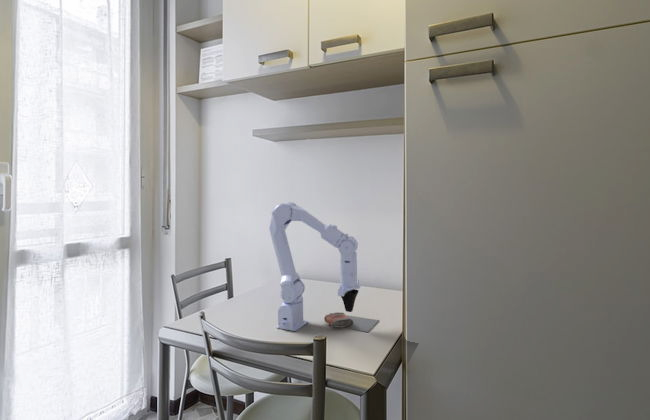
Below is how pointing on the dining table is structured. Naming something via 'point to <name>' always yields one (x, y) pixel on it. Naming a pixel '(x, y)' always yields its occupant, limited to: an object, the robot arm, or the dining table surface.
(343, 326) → the lighter
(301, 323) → the robot arm
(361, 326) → the mat
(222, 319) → the dining table surface
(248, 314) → the dining table surface
